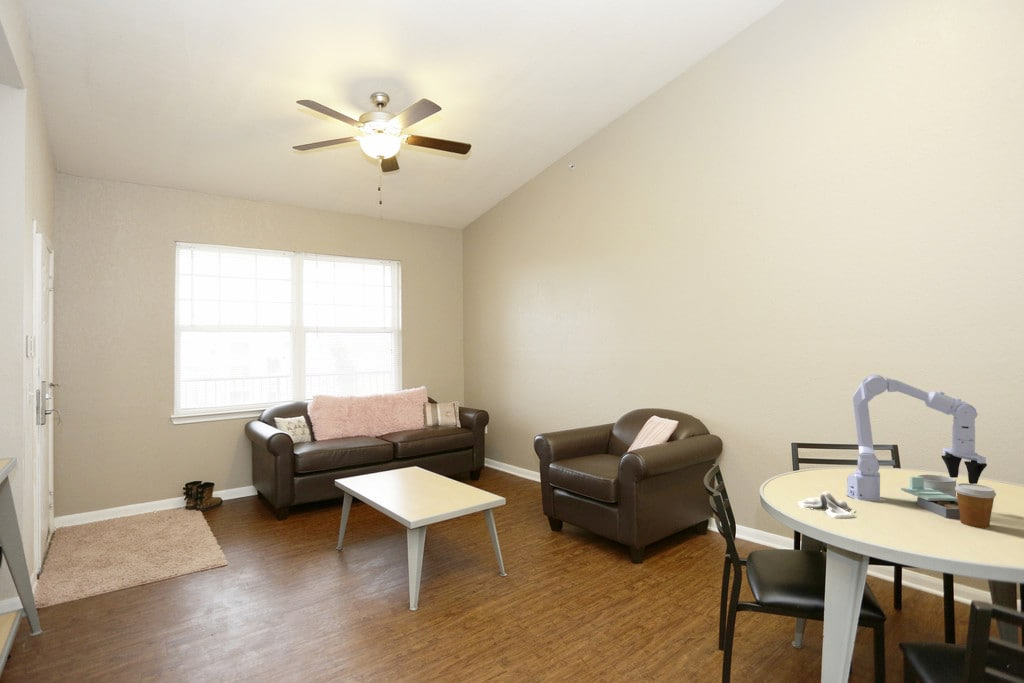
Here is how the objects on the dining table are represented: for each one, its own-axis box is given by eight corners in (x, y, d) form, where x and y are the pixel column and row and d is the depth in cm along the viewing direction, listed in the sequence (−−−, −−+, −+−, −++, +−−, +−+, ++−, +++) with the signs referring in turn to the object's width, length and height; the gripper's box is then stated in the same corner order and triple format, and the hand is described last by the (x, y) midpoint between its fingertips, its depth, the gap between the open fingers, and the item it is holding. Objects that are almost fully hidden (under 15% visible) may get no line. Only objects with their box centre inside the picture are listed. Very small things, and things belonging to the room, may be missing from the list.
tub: (977, 520, 166) (978, 509, 166) (945, 519, 167) (946, 508, 167) (946, 508, 178) (947, 497, 178) (917, 507, 179) (917, 497, 179)
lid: (958, 500, 174) (958, 486, 174) (927, 500, 174) (927, 485, 174) (929, 490, 186) (929, 476, 186) (901, 490, 186) (901, 476, 186)
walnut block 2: (954, 516, 168) (954, 508, 168) (944, 513, 171) (944, 504, 171) (964, 516, 168) (964, 507, 168) (953, 512, 172) (953, 504, 172)
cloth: (851, 524, 164) (851, 504, 164) (787, 509, 177) (787, 491, 177) (871, 509, 178) (872, 491, 178) (811, 497, 192) (812, 480, 192)
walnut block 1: (937, 510, 174) (937, 501, 174) (932, 507, 177) (932, 498, 177) (950, 511, 173) (950, 502, 173) (944, 508, 177) (944, 499, 177)
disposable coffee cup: (954, 519, 167) (954, 481, 167) (994, 525, 161) (995, 486, 161) (954, 527, 160) (954, 487, 160) (997, 534, 154) (997, 493, 154)
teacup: (949, 506, 181) (949, 482, 181) (911, 497, 190) (912, 475, 190) (964, 499, 188) (964, 477, 188) (928, 492, 198) (928, 470, 198)
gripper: (995, 443, 167) (995, 486, 167) (957, 435, 182) (957, 474, 182) (973, 443, 167) (972, 486, 167) (936, 435, 182) (936, 474, 182)
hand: (963, 480), depth 174 cm, fingers open, 7 cm apart
